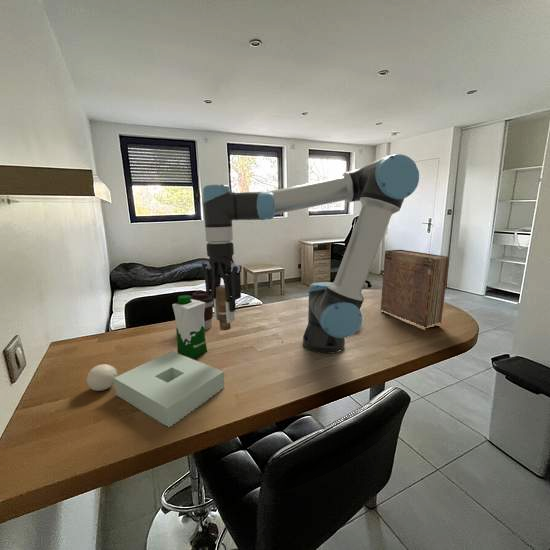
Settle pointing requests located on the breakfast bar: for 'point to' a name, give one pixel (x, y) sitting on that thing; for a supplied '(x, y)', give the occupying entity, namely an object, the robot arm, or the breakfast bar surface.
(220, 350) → the breakfast bar surface
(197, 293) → the coffee cup
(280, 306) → the breakfast bar surface
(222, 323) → the peg
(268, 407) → the breakfast bar surface
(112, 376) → the baseball
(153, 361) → the board
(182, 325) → the milk carton
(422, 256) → the book
